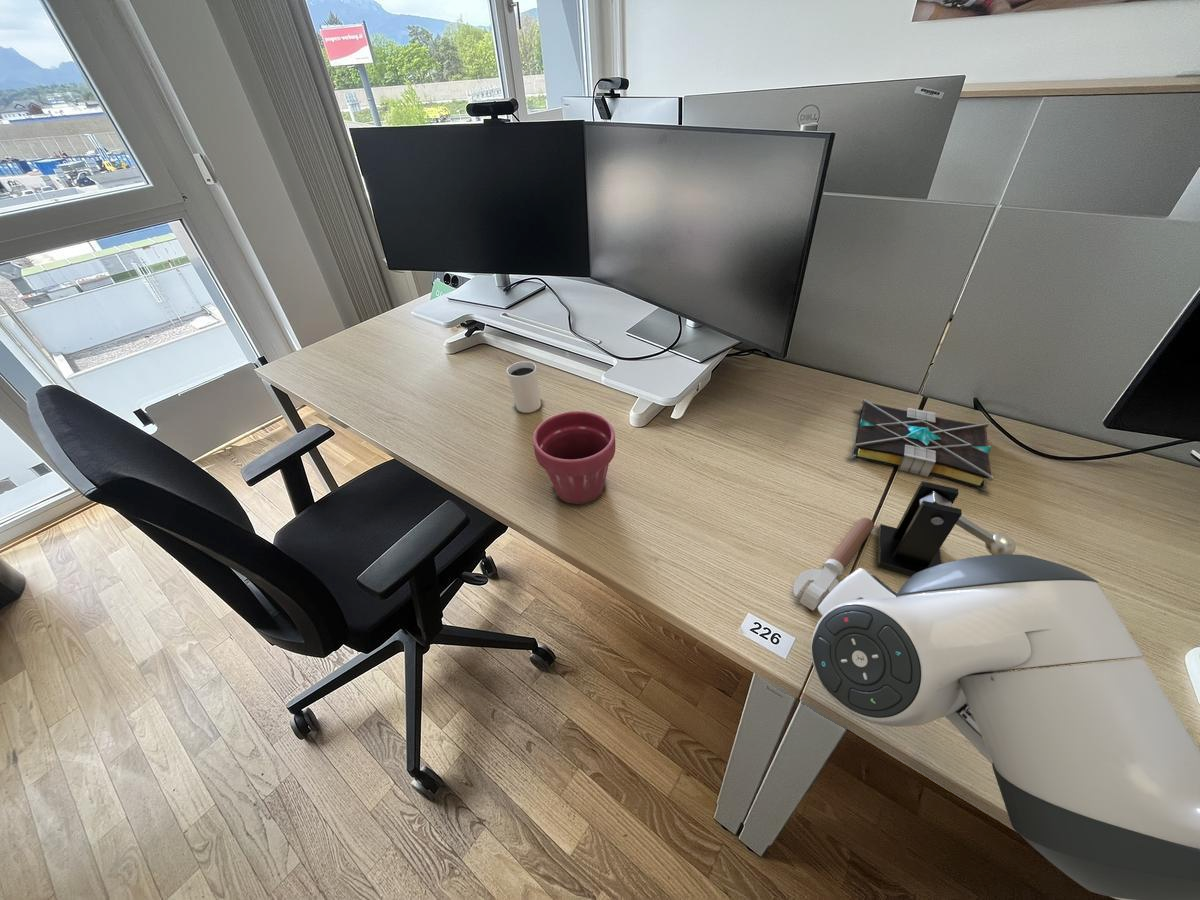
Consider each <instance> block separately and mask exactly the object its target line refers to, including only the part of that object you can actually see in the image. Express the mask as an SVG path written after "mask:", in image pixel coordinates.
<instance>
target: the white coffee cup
mask: <svg viewBox="0 0 1200 900" xmlns="http://www.w3.org/2000/svg"><path fill="white" fill-rule="evenodd" d="M506 375H507V379H508V381H509V384H510V390H511V393H512V396H513V400H514V403H515V407H516V409H517V411H518V412H521V413H523V414H524V413H525V414H528V413H533V412H536V411H537V410H539V409H540V408H541V406H542V403H541V402H542V401H541V396H540V388H539V379H538V371H537V365H536V364H535V363H534V362H532V361H524V360H523V361H518V362H514V363H512V364H511V365H509V366H508V367H507V368H506Z"/></svg>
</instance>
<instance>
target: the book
mask: <svg viewBox="0 0 1200 900" xmlns="http://www.w3.org/2000/svg"><path fill="white" fill-rule="evenodd" d="M861 404H862V406H861V408H858V411H857V413H858V414H859V418H858V425H857V430H856V435H855V436H856V437H855V442H854V448H853V452H852V456H851V460H863V461H869V462H873V463H879V464H883V465H887V466H892V467H896V468H897V470H898V471H901V472H902V471H903V472H905V473H911V474H916V475H918V476H922V477H927V478H928V477H929V475H932V476H935V477H940V478H945V479H947V480H950V481H955V482H957V483H962V484H964V485H968V486H972V487H975V488H977V489H979V490H980V491H982V492H983V491H985V490H986V488H987V486H985V479H988V481H990V482H991V481H992V480H993V479H994V478H995V476H993V475H992V470H991V462H990V455H989V454H990V450H991V445H989V444H988V431H987V428H988V427H989V425H990V423H988V422H984V423H973V422H965V421H960V420H955V419H948V418H943V417H938V416H936V412H932V411H928V410H927V411H926V410H922V409H916V408H913V407H912V408H911V407H908V408H906V410H905V409H901V408H900V409H899V408H894V407H890V406H885V405H881V404H878V403H877V404H876V403H872V402H870V401H869V400H867V399H865V398H863V399H862V401H861Z"/></svg>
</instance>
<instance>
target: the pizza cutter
mask: <svg viewBox="0 0 1200 900" xmlns="http://www.w3.org/2000/svg"><path fill="white" fill-rule="evenodd" d="M874 528H875V523H874V521H873V520H872V519H871V518H869V517H861V518H859V520H858V521H857V522H856V523H855V525H854V526H853V528H852V529H851V530H850V531H849V533H848V534H847V535H846V537H845V538H844V539H843V540H842V542H841V543H840V545H839V546H838V547H837V548H836V549H835V551H834V552H833V553H832V555H831V557H830V558H828V559H827V560H826V561H825V562H824V564H823V565H822V569H820V568H810V569H805V570H804V571H802V572H801V573H799V574H798V576H797V577H796V579H795V581H794V583H793V595H794V597H797V596H798V595H799V593H800V592H801V591H802V590H803V588H805V586H806V585H807V583H809V585H808V586H807V587H806V588H805V590H804V592H803V593H802V595H801V596H800V600H799V603H800V604H802V605H803V606H805V607H806V608H808V609H810V610H811V611H815V609H816V608H818V606H819V605H820V603H821V602H822V600H823V597H824V595H825V593H826V592H828V594H829V593H830V592H831V591H832V590H833V589H834V588H835V587H836V586H837V585H838V584H839V583H840V582H839V580H838V578H840V577H841V576H842V574H843V573H844V570H845V568H846V567H847V566H848V564H849V563H850V561H851V560H852V559H853V557H854V556H855V554H856V553H857V552H858V551H859V549H860V547H861V546H862V545H863V543H864V542H865V541H866V539H867V538H868V536H869V535H870V534H871V532H872V531H873V529H874ZM817 610H818V609H817ZM818 612H819V610H818Z"/></svg>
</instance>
